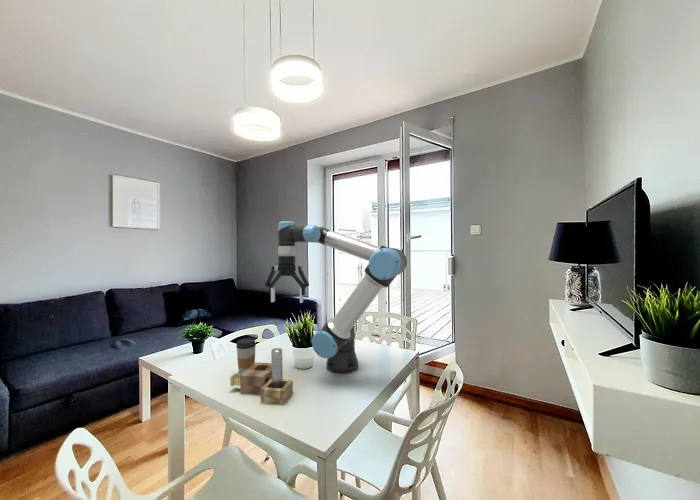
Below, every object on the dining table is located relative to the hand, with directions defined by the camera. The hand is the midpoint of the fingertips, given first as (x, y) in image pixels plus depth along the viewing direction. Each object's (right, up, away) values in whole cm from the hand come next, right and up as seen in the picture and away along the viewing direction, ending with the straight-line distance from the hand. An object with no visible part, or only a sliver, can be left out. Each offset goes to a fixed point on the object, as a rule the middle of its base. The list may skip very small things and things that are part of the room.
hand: (287, 302), depth 134 cm
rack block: (+1, -32, -23) cm, 39 cm away
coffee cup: (-18, -32, -2) cm, 37 cm away
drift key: (-12, -30, -18) cm, 36 cm away
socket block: (-8, -32, -14) cm, 36 cm away
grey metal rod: (+1, -32, -23) cm, 39 cm away
